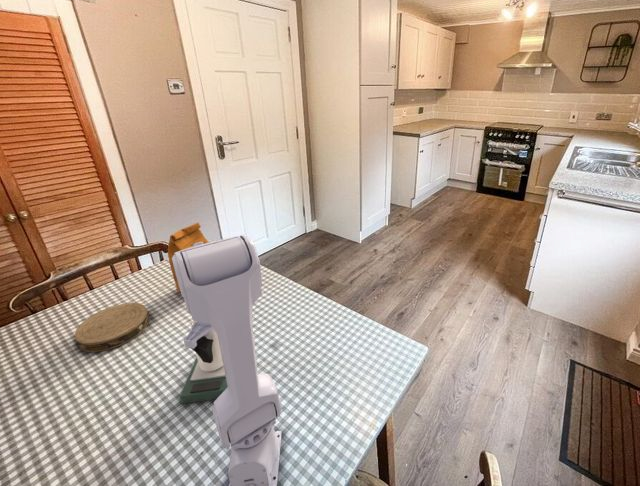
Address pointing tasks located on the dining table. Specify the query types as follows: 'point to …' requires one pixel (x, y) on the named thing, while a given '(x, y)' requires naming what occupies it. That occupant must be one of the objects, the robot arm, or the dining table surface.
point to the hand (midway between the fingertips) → (219, 348)
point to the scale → (203, 384)
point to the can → (216, 353)
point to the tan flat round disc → (112, 327)
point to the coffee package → (184, 243)
